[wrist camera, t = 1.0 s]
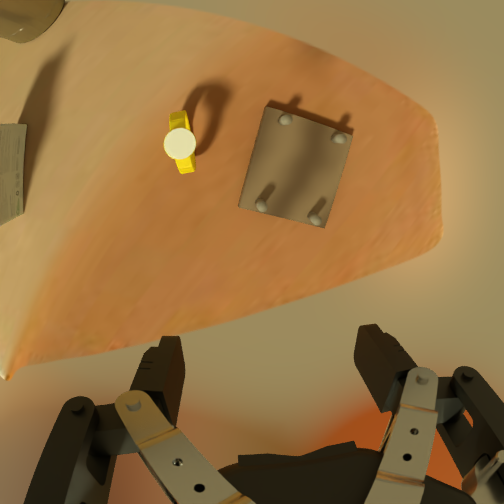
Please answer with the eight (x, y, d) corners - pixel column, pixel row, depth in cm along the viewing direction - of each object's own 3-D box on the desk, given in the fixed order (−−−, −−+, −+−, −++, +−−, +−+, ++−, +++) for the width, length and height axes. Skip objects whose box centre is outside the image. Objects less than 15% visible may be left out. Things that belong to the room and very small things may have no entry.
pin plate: (237, 205, 31) (240, 212, 29) (264, 107, 28) (270, 104, 25) (321, 225, 34) (330, 233, 31) (349, 136, 30) (361, 136, 27)
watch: (168, 116, 27) (157, 111, 21) (194, 111, 27) (190, 104, 22) (177, 171, 29) (169, 179, 24) (203, 166, 29) (201, 172, 24)
